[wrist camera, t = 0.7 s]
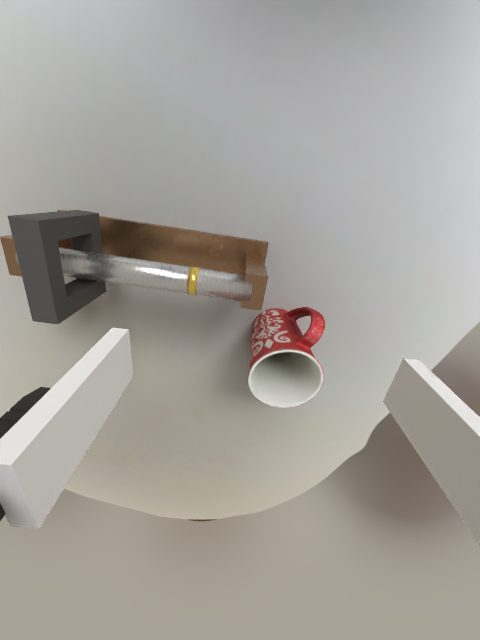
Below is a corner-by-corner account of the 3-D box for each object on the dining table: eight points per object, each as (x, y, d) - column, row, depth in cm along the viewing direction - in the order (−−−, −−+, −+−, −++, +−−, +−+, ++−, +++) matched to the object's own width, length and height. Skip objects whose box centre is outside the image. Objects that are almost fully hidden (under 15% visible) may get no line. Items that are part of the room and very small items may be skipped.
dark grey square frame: (87, 288, 35) (32, 320, 26) (77, 210, 30) (7, 215, 22) (106, 291, 35) (58, 324, 26) (99, 213, 31) (38, 220, 22)
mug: (280, 359, 45) (292, 419, 33) (237, 335, 43) (233, 389, 31) (327, 304, 41) (362, 350, 29) (281, 274, 39) (298, 310, 26)
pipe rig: (69, 266, 39) (5, 292, 28) (61, 210, 35) (-16, 216, 25) (258, 293, 40) (262, 328, 30) (267, 241, 37) (277, 260, 26)
